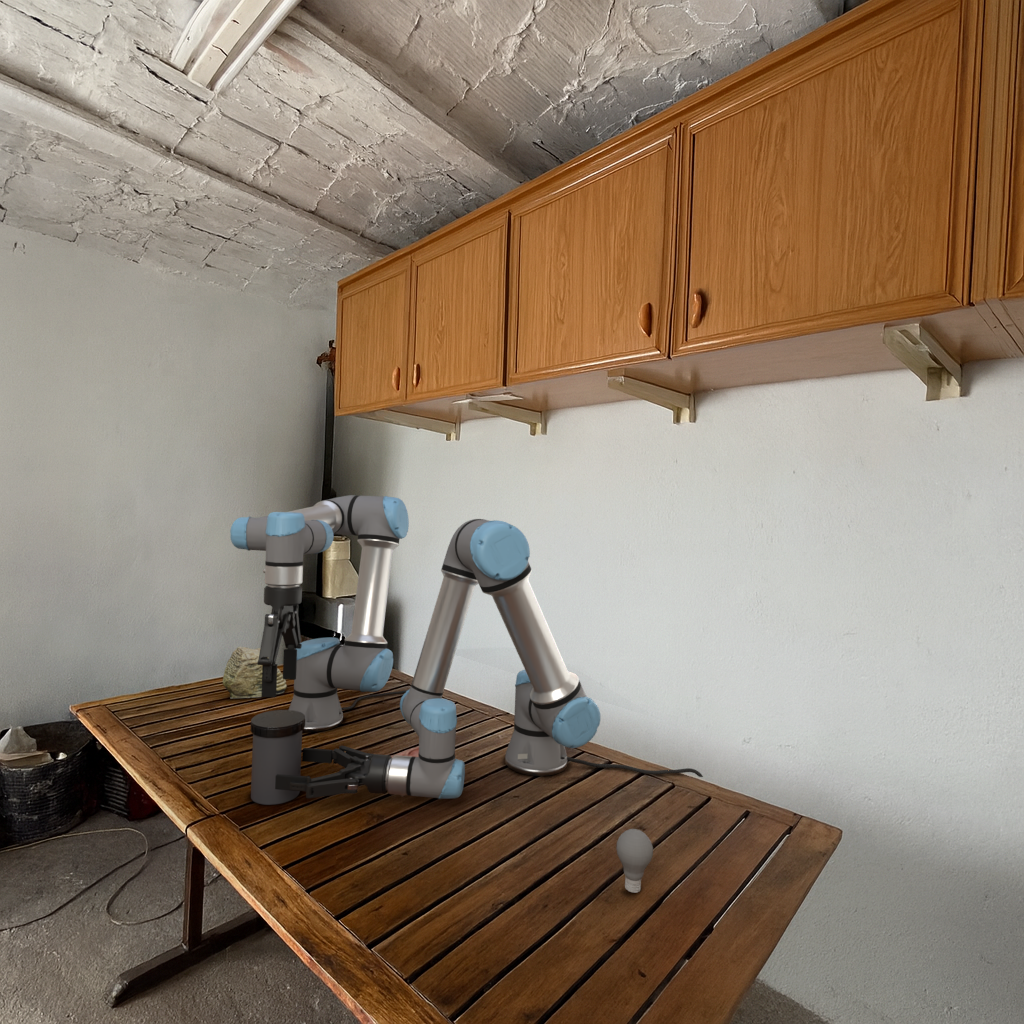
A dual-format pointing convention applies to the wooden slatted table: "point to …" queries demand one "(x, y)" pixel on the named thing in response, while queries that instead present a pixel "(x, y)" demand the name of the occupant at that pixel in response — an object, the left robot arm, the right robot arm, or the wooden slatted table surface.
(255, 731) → the lid
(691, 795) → the wooden slatted table surface
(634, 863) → the light bulb
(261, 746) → the jar
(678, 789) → the wooden slatted table surface
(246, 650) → the fossil
